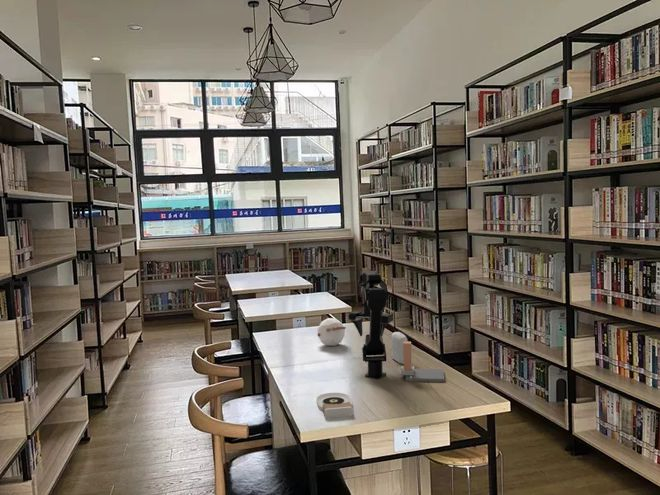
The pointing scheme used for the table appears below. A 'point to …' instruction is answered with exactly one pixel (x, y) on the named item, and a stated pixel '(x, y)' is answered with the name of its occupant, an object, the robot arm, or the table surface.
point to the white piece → (331, 332)
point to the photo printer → (398, 346)
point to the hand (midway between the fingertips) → (370, 337)
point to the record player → (335, 405)
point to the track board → (426, 375)
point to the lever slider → (407, 360)
